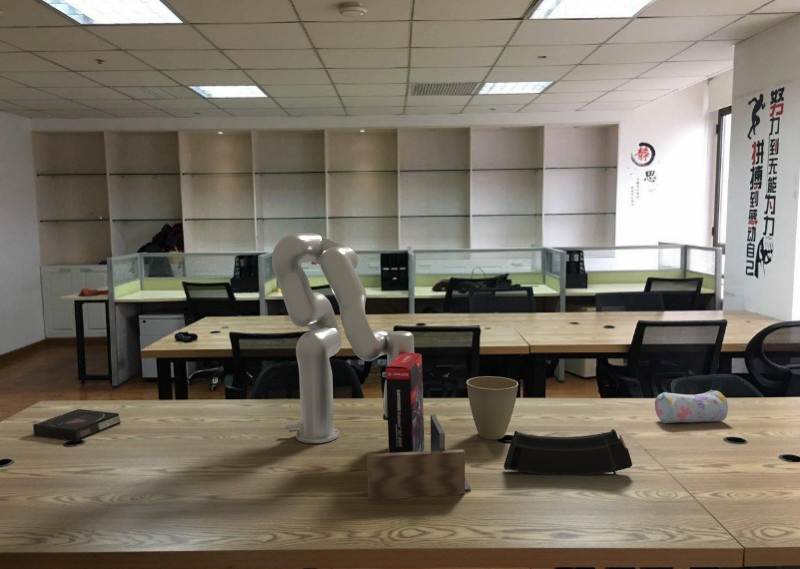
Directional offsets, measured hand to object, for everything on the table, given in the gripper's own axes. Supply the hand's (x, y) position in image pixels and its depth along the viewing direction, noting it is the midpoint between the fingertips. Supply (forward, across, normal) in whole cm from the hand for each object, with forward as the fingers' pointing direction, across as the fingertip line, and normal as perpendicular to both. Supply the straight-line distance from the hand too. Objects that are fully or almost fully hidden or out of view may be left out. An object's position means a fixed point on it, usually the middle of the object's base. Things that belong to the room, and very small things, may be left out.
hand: (402, 439), depth 169 cm
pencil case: (+2, +91, +7) cm, 91 cm away
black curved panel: (+2, +38, -26) cm, 46 cm away
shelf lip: (+1, 0, -33) cm, 33 cm away
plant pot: (+2, +27, +3) cm, 27 cm away
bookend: (+1, +9, -26) cm, 27 cm away
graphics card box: (+2, 0, -13) cm, 13 cm away
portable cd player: (+2, -98, +26) cm, 101 cm away
